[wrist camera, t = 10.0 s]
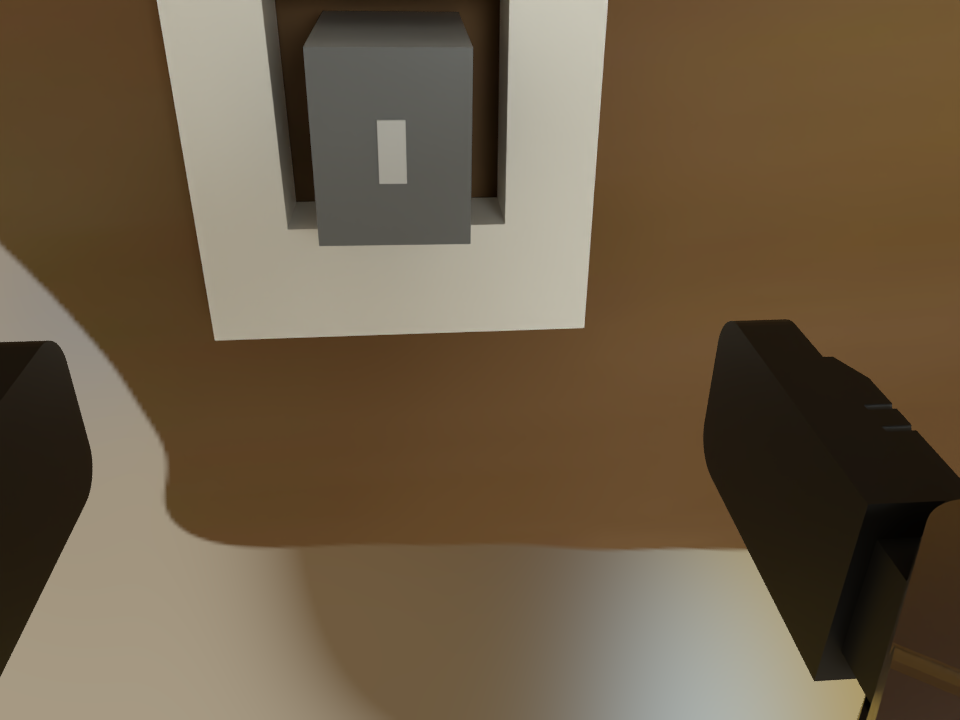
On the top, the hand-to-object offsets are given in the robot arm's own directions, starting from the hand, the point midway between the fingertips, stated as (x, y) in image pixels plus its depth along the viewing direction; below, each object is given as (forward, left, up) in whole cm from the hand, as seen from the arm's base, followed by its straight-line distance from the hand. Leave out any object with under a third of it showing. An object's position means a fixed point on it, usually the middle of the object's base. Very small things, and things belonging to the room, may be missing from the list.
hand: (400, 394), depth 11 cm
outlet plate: (0, 0, -18) cm, 18 cm away
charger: (+1, 0, -18) cm, 18 cm away
